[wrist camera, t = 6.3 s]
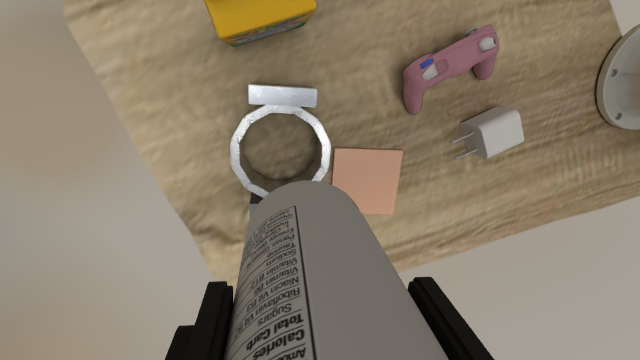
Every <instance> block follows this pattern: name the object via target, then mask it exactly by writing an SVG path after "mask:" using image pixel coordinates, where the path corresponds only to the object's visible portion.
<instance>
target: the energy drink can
mask: <svg viewBox="0 0 640 360" xmlns="http://www.w3.org/2000/svg"><path fill="white" fill-rule="evenodd" d="M223 360H449V359H448V358H447V356H446V354H445V353H444V351H443V349H442V347H441V346H440V344H439V342H438V341H437V339H436V337H435V336H434V334H433V332H432V331H431V329H430V327H429V326H428V324H427V322H426V321H425V319H424V317H423V316H422V314H421V312H420V311H419V309H418V307H417V306H416V304H415V302H414V300H413V299H412V297H411V295H410V294H409V292H408V290H407V289H406V287H405V285H404V284H403V282H402V280H401V279H400V277H399V275H398V274H397V272H396V270H395V269H394V267H393V265H392V264H391V262H390V260H389V258H388V257H387V255H386V253H385V252H384V250H383V248H382V247H381V245H380V243H379V242H378V240H377V238H376V237H375V235H374V233H373V232H372V230H371V228H370V227H369V225H368V223H367V222H366V220H365V218H364V216H363V215H362V213H361V211H360V210H359V208H358V207H357V205H356V203H355V202H354V200H353V199H352V198H351V197H350V196H349V195H348V194H347V193H345V192H344V191H342V190H341V189H339V188H338V187H336V186H333V185H331V184H328V183H325V182H320V181H298V182H292V183H289V184H286V185H284V186H281V187H279V188H277V189H276V190H274V191H272V192H271V193H269V194H268V195H267V196H266V197H265V198H264V199H263V200H261V201H260V203H259V204H258V205H257V207H256V208H255V210H254V211H253V213H252V215H251V218H250V220H249V224H248V229H247V234H246V239H245V245H244V250H243V255H242V261H241V266H240V271H239V277H238V282H237V287H236V293H235V298H234V304H233V309H232V315H231V320H230V325H229V331H228V336H227V341H226V347H225V352H224V357H223Z"/></svg>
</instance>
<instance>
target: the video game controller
mask: <svg viewBox="0 0 640 360" xmlns="http://www.w3.org/2000/svg"><path fill="white" fill-rule="evenodd" d="M476 29H477V27H474V28H471V29H469V30H468V31H467V32H466V33H465V35H464V36H465V37H466V36H467V37H466V38H464V39H462V40H460V41H458V42H456V43H454V44H452V45H450V46H448V47H446V48H444V49H443V50H441V51H439V52H437V53H436V54H434V53H431V54H427V55H425V56H423V57H421V58H419V59H417V60H416V61H414V62H413V63H412V64H410V65H409V66H408V67H407V68H406V69H405V70H404V72H403V76H404V86H403V98H404V103H405V106H406V108H407V110H408V111H409V112H410V113H411V114H413V115H416V114H418V113H419V111H420V110H421V105H422V98H423V94H424V91H425V90H426V89H427V88H429V87H431V86H434V85H436V84H438V83H440V82H441V81H443V80H445V79H447V78H452V77H456V76H459V75H462V74H464V73H465V72H467V71H468V70H469V69H471V68H472V67H473V68H474V72H475V74H476V77H477V78H478V79H480V80H486V79H488V78H489V77H490V75H491V74H492V71H493V68H494V63H495V59H496V55H497V52H498V49H499V44H498V38H497V36H496V32H495V31H494V29H493V27H492V26H491V25H486V26H483V27H481V28H479V29H478V30H476ZM475 30H476V31H475Z"/></svg>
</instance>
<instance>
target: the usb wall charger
mask: <svg viewBox="0 0 640 360" xmlns="http://www.w3.org/2000/svg"><path fill="white" fill-rule="evenodd" d="M461 129H462V132H463V134H462V135H460V136H458V137H456V138H454V139H452V140H450V141H449V142H451V143H454V142H456V141H459V140H461V139H463V138H464V140H465V144H466V147H467V151H464V152H462V153H460V154H458V155H456V156H454V158H455V159H459V158H461V157H464V156H466V155H468V154H470V153H472V154H474V155H476V156H479V157H481V158H484V159H487V158H490V157H492V156H494V155H496V154H498V153H500V152H502V151H505V150H507V149H509V148H511V147H513V146H515V145H517V144H520V143H522V142H523V141H524V134H523V129H522V124H521V119H520V114H519V113H518V111H517V110H515V109H511V108H505V107H498V106H497V107H494V108H492V109H490V110H488V111H486V112H484V113H482V114H479V115H477V116H475V117H473V118H471V119H469V120H467V121H464V122H462V123H461ZM454 140H455V141H454ZM458 156H460V157H458Z"/></svg>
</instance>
